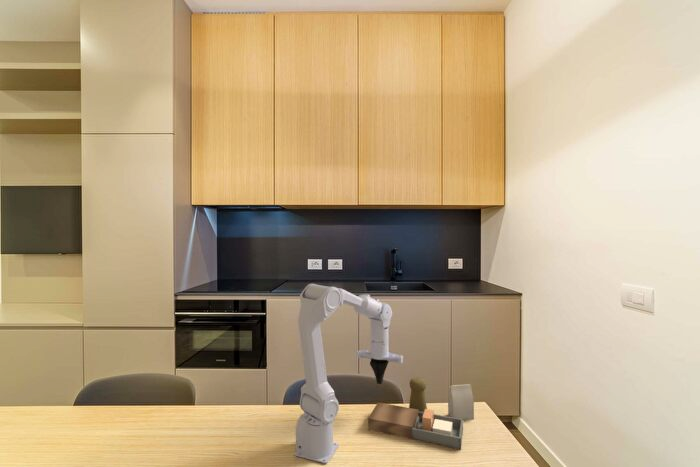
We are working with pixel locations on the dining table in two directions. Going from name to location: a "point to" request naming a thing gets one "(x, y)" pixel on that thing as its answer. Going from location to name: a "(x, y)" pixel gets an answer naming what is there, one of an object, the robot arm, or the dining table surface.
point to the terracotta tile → (428, 420)
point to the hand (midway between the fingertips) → (379, 382)
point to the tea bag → (461, 402)
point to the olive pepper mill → (418, 394)
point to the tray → (439, 438)
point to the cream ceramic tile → (443, 427)
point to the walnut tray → (393, 420)
